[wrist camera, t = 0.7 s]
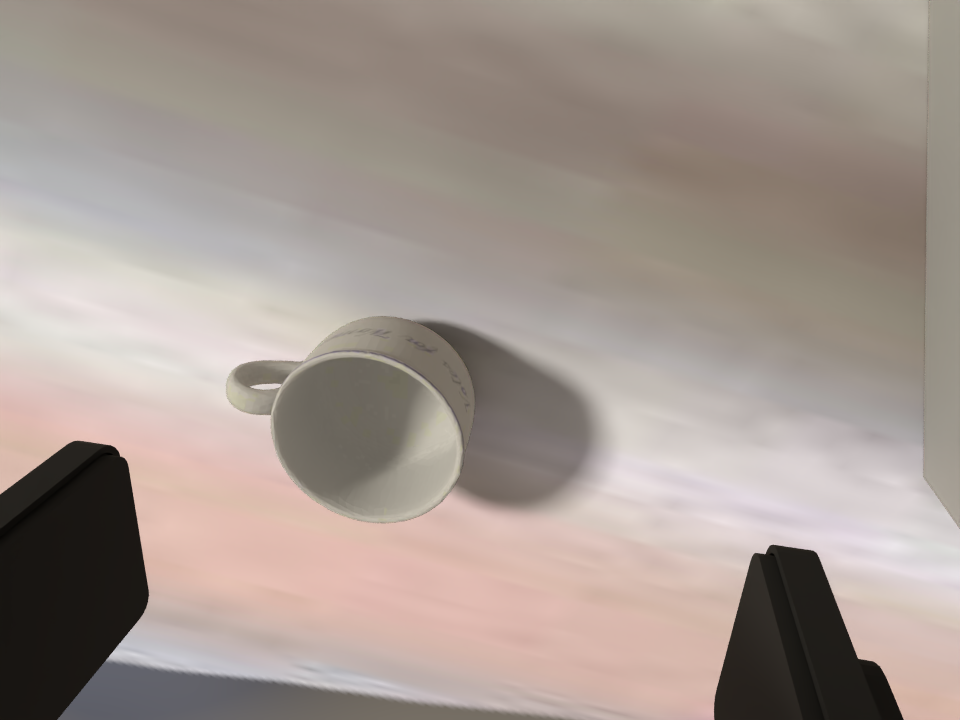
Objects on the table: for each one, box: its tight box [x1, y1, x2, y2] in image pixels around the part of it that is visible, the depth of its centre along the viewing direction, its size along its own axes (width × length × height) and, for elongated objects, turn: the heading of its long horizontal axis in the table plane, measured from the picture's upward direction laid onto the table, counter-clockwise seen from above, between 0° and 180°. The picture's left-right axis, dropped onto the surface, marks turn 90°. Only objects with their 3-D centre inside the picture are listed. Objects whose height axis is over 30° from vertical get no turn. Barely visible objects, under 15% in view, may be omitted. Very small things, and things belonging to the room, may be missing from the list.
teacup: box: [226, 316, 475, 523], centre depth 43 cm, size 14×11×8 cm
